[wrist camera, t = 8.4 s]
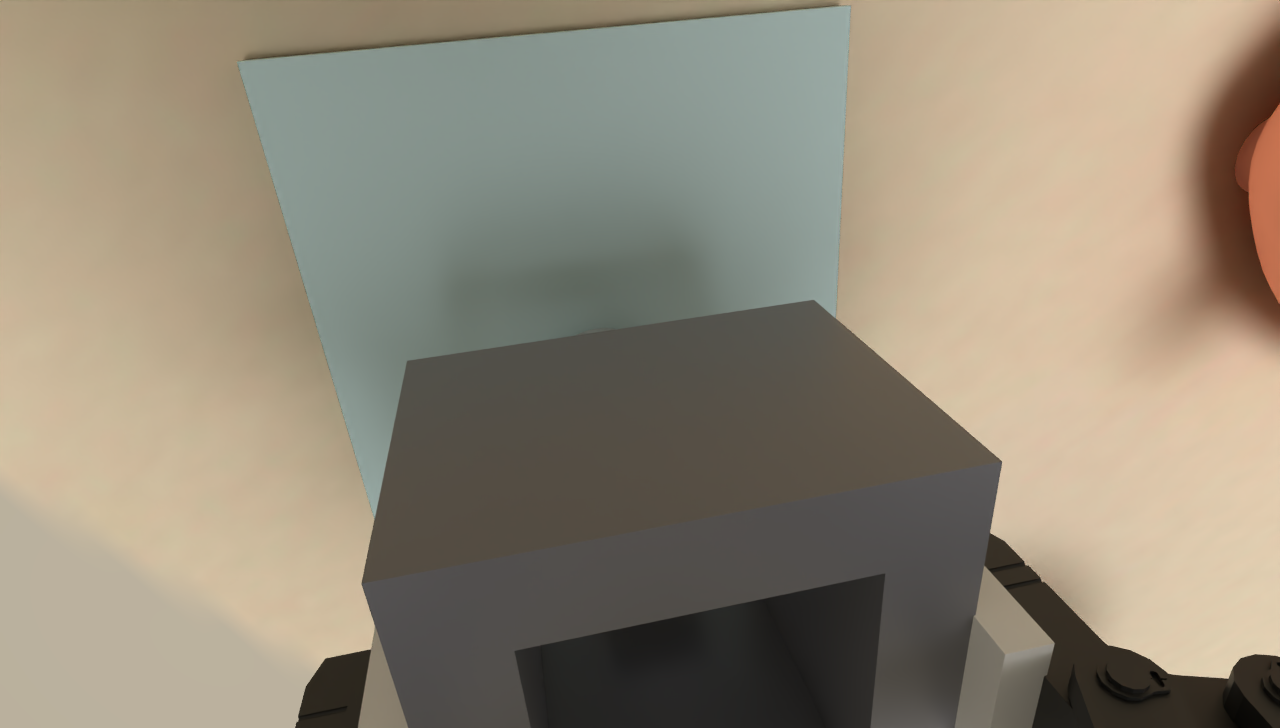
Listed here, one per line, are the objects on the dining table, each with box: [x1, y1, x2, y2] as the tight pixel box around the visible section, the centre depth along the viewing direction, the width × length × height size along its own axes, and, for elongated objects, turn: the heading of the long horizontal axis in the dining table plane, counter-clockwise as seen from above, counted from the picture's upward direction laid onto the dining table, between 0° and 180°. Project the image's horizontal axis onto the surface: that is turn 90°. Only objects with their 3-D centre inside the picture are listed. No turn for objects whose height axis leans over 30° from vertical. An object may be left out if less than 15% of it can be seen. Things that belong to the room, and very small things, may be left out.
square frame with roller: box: [362, 300, 1002, 728], centre depth 14 cm, size 9×8×6 cm
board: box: [237, 6, 851, 519], centre depth 18 cm, size 18×14×8 cm
